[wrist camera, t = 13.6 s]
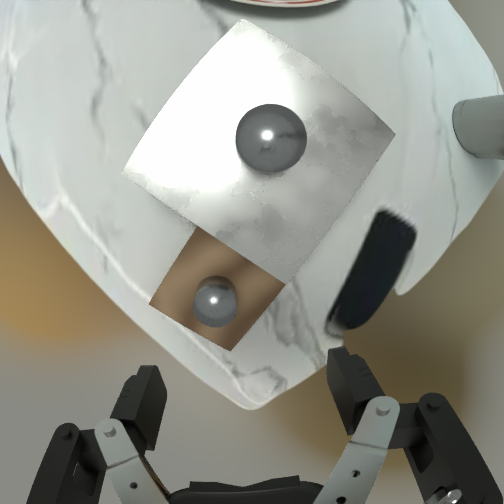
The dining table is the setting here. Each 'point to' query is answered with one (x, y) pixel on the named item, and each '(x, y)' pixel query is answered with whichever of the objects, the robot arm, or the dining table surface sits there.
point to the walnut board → (209, 264)
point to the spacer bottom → (270, 138)
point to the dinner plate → (286, 2)
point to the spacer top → (215, 301)
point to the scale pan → (243, 178)
